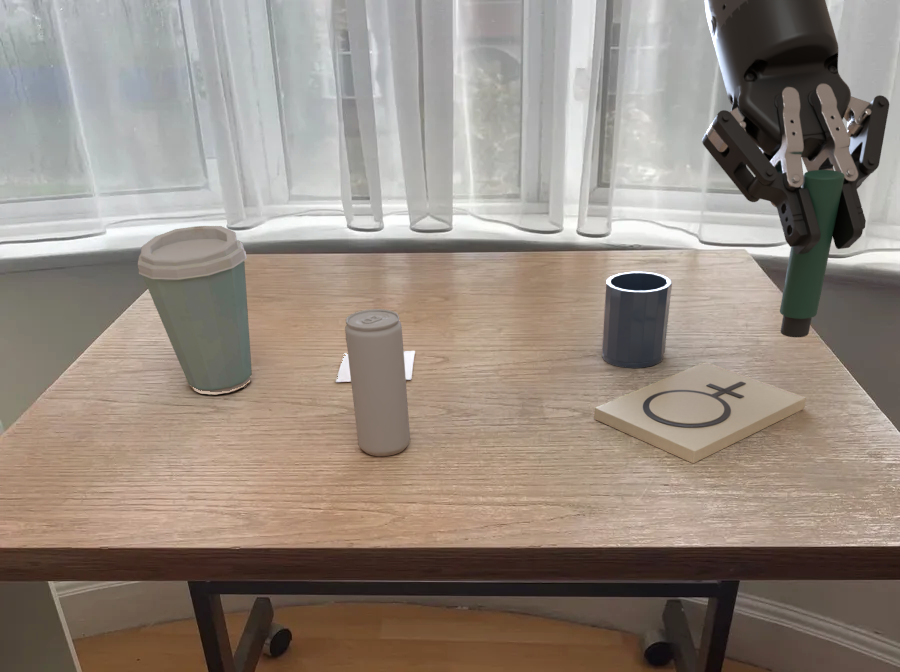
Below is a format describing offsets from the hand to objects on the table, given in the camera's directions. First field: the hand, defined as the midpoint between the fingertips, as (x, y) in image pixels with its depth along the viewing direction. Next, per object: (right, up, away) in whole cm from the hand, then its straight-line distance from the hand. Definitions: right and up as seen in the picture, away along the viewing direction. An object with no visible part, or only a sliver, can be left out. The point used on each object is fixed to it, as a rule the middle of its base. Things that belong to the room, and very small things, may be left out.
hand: (829, 244), depth 61 cm
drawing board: (-2, -7, +24) cm, 25 cm away
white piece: (-34, +1, +36) cm, 50 cm away
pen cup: (-6, +2, +36) cm, 36 cm away
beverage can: (-32, -10, +21) cm, 40 cm away
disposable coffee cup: (-51, -1, +35) cm, 61 cm away
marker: (0, -4, +6) cm, 7 cm away
